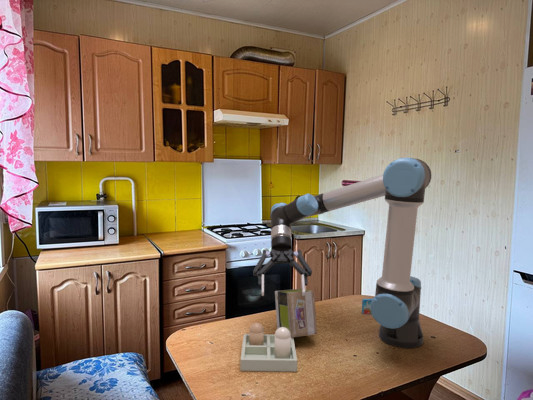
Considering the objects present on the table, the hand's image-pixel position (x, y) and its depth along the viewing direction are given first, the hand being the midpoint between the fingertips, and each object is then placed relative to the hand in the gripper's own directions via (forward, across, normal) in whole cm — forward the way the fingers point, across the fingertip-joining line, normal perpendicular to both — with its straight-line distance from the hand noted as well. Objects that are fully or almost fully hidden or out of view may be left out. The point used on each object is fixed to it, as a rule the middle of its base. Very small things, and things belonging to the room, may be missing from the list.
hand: (283, 294), depth 124 cm
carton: (+17, +5, -10) cm, 20 cm away
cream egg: (+19, +1, -7) cm, 20 cm away
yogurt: (-9, -41, -36) cm, 56 cm away
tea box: (-4, -3, -21) cm, 21 cm away
